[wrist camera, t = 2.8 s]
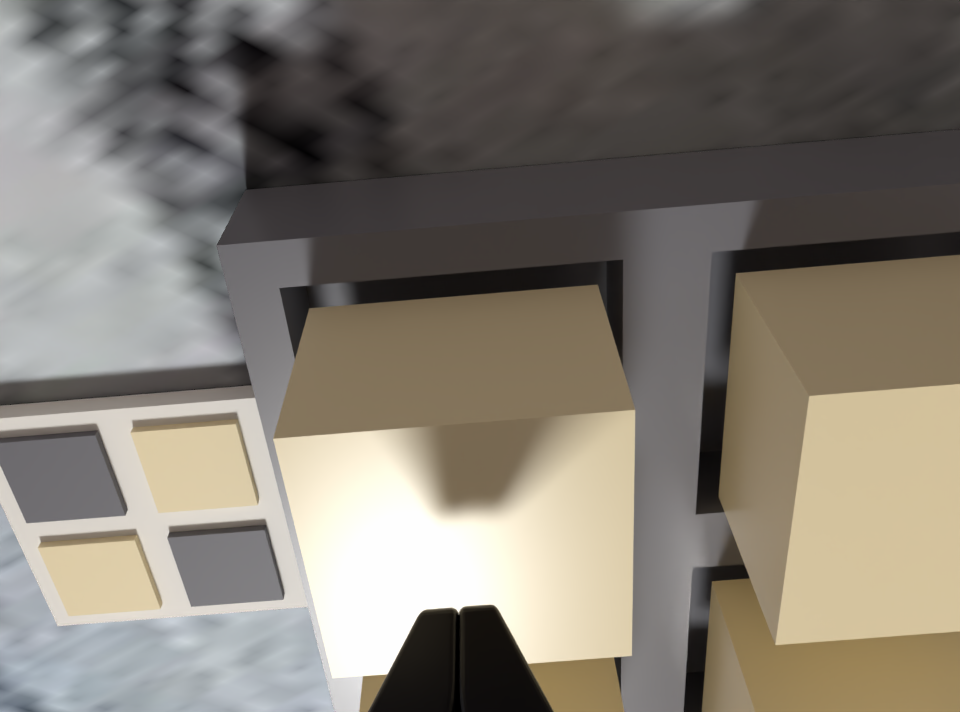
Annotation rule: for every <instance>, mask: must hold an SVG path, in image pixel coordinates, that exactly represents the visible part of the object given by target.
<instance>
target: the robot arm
mask: <svg viewBox="0 0 960 712" xmlns="http://www.w3.org/2000/svg"><path fill="white" fill-rule="evenodd" d="M368 712H554V711H553V709H552V707H551V705H550V704H549V702H548V700H547V698H546V696H545V694H544V692H543V691H542V689H541V687H540V685H539V683H538V681H537V680H536V678H535V676H534V674H533V672H532V670H531V668H530V667H529V665H528V663H527V661H526V659H525V657H524V656H523V654H522V652H521V650H520V648H519V646H518V644H517V643H516V641H515V639H514V637H513V635H512V633H511V632H510V630H509V628H508V626H507V624H506V622H505V620H504V619H503V617H502V615H501V613H500V611H499V610H498V608H497V607H496V606H494V605H490V604H489V605H476V606H465V607H462V608H461V609H460V611H459V613H458V611H457V610H456V609H455V608H452V607H450V608H437V609H426V610H423V611H422V612H420V614H419V615H418V617H417V618H416V620H415V622H414V624H413V626H412V628H411V630H410V632H409V634H408V636H407V638H406V639H405V641H404V643H403V645H402V647H401V649H400V651H399V653H398V655H397V657H396V659H395V661H394V662H393V664H392V666H391V668H390V670H389V672H388V674H387V676H386V678H385V680H384V682H383V684H382V685H381V687H380V689H379V691H378V693H377V695H376V697H375V699H374V701H373V703H372V705H371V707H370V709H369V710H368Z"/></svg>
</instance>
